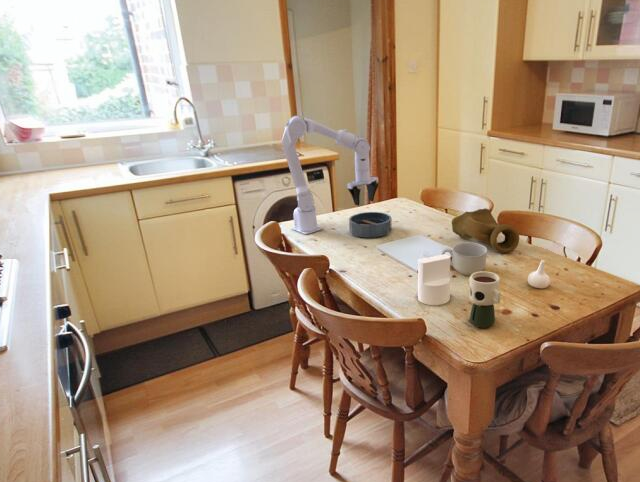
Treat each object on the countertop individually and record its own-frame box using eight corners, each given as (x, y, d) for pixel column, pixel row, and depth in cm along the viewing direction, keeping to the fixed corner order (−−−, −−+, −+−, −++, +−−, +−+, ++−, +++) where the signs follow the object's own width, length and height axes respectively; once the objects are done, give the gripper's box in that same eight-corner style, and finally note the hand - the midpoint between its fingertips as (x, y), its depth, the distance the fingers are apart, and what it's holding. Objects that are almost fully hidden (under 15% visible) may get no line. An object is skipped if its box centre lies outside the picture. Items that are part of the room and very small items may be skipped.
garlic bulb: (524, 280, 140) (527, 256, 137) (545, 280, 139) (548, 255, 136) (530, 290, 134) (532, 264, 131) (552, 290, 134) (555, 264, 130)
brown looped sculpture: (502, 212, 178) (527, 220, 157) (492, 244, 180) (515, 257, 159) (457, 200, 174) (477, 207, 153) (447, 233, 177) (466, 244, 156)
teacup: (488, 266, 150) (489, 243, 147) (483, 280, 140) (484, 256, 137) (445, 262, 154) (446, 239, 151) (438, 275, 145) (438, 252, 142)
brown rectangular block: (361, 227, 187) (360, 220, 186) (364, 226, 188) (364, 219, 187) (377, 233, 180) (377, 225, 179) (381, 232, 181) (380, 224, 180)
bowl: (341, 232, 185) (340, 218, 183) (372, 222, 195) (371, 209, 193) (368, 242, 173) (368, 228, 171) (400, 231, 184) (400, 217, 182)
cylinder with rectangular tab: (427, 308, 126) (427, 267, 121) (412, 294, 134) (412, 255, 129) (455, 300, 129) (457, 261, 125) (439, 288, 137) (440, 250, 132)
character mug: (457, 317, 121) (459, 272, 116) (478, 310, 124) (481, 266, 119) (485, 337, 112) (489, 289, 107) (507, 328, 115) (511, 281, 110)
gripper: (354, 174, 176) (356, 208, 181) (382, 167, 185) (383, 200, 190) (343, 171, 181) (345, 205, 186) (371, 165, 190) (372, 197, 195)
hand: (364, 202), depth 188 cm, fingers open, 7 cm apart
